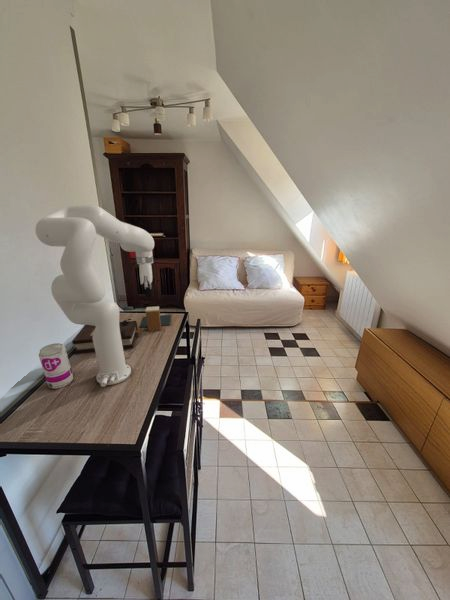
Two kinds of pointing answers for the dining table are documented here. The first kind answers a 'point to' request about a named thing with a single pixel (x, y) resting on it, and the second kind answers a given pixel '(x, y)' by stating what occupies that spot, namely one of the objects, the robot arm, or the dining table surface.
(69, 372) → the supplement can
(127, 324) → the decorative book
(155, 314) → the cardboard box
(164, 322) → the slate mat
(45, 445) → the dining table surface
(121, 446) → the dining table surface
